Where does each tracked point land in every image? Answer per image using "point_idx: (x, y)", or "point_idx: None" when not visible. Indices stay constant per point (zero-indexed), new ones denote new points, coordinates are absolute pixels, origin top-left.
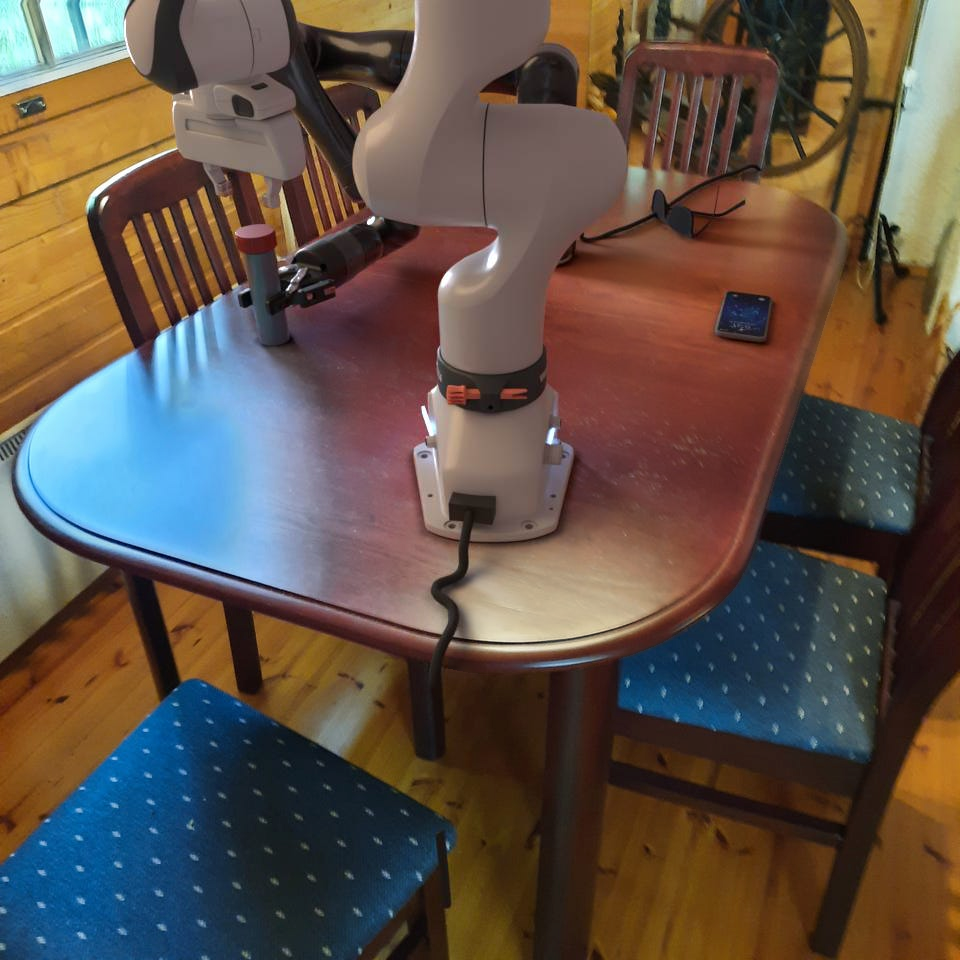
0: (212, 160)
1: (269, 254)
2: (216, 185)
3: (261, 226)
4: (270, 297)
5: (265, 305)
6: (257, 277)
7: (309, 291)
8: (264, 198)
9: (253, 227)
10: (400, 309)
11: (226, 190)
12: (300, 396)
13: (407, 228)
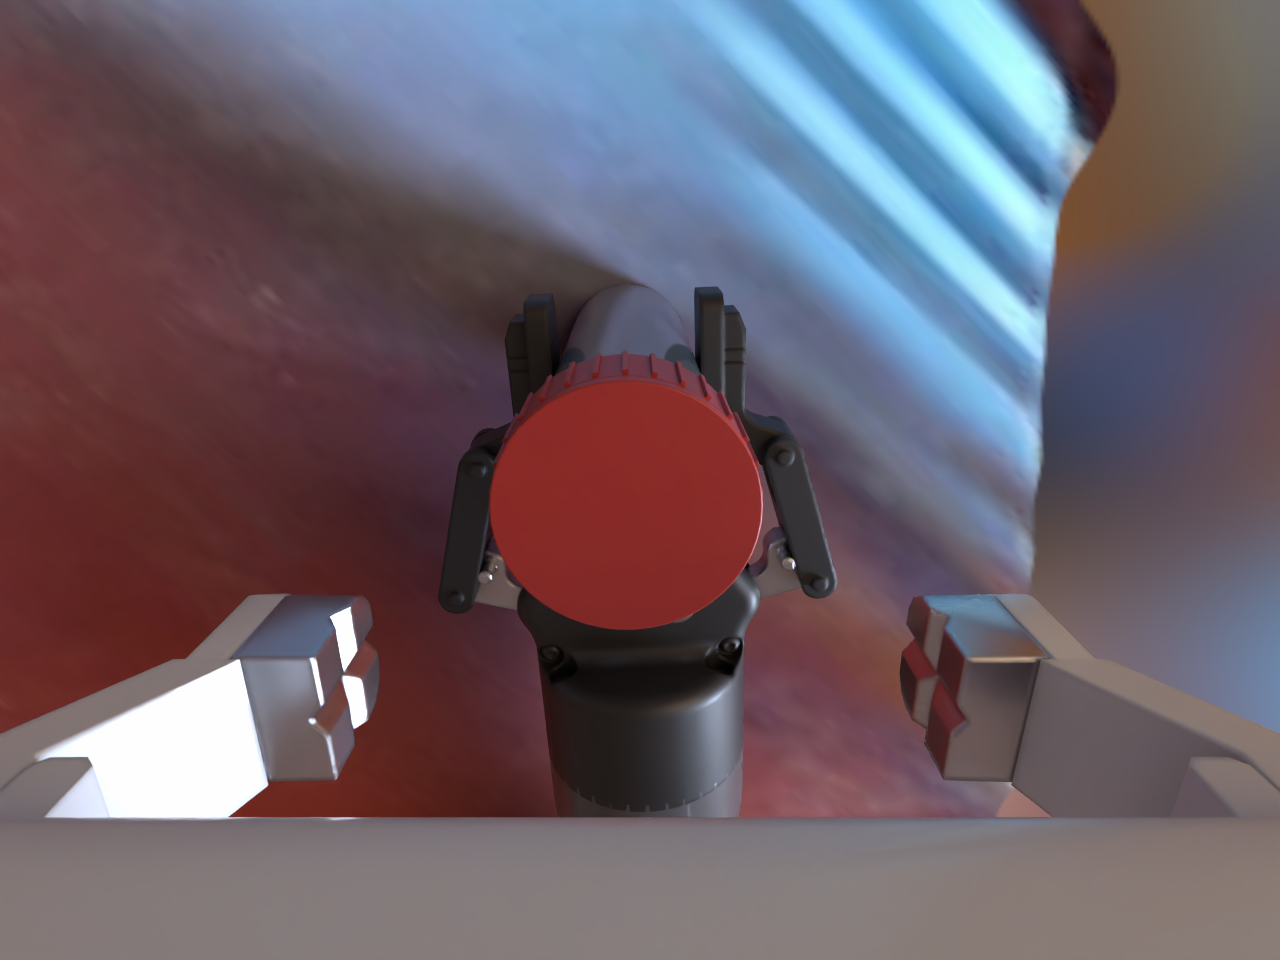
0: (1164, 871)
1: None
2: (1043, 649)
3: (647, 591)
4: (562, 355)
5: (545, 298)
6: (587, 348)
7: (456, 487)
8: (291, 639)
9: (684, 554)
10: (424, 698)
11: (933, 666)
12: (201, 41)
13: None
